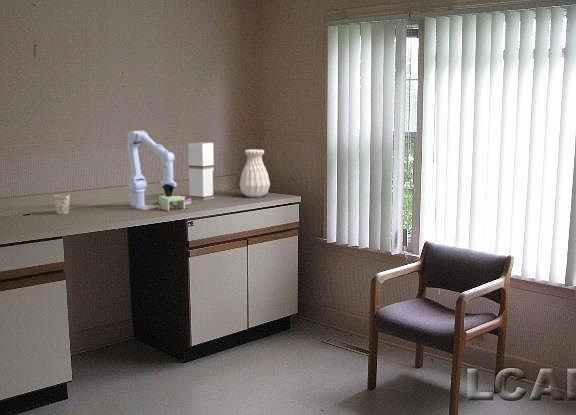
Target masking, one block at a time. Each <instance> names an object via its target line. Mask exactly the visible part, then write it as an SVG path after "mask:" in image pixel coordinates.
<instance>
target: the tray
mask: <svg viewBox="0 0 576 415" xmlns="http://www.w3.org/2000/svg"><path fill="white" fill-rule="evenodd" d="M155 206H156V205H150V204H148V205H147V204H145V206H135V208H136V209H135V210H137V209H140V210H139V211H141V210H151V209H155V208H156V207H155Z"/></svg>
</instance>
